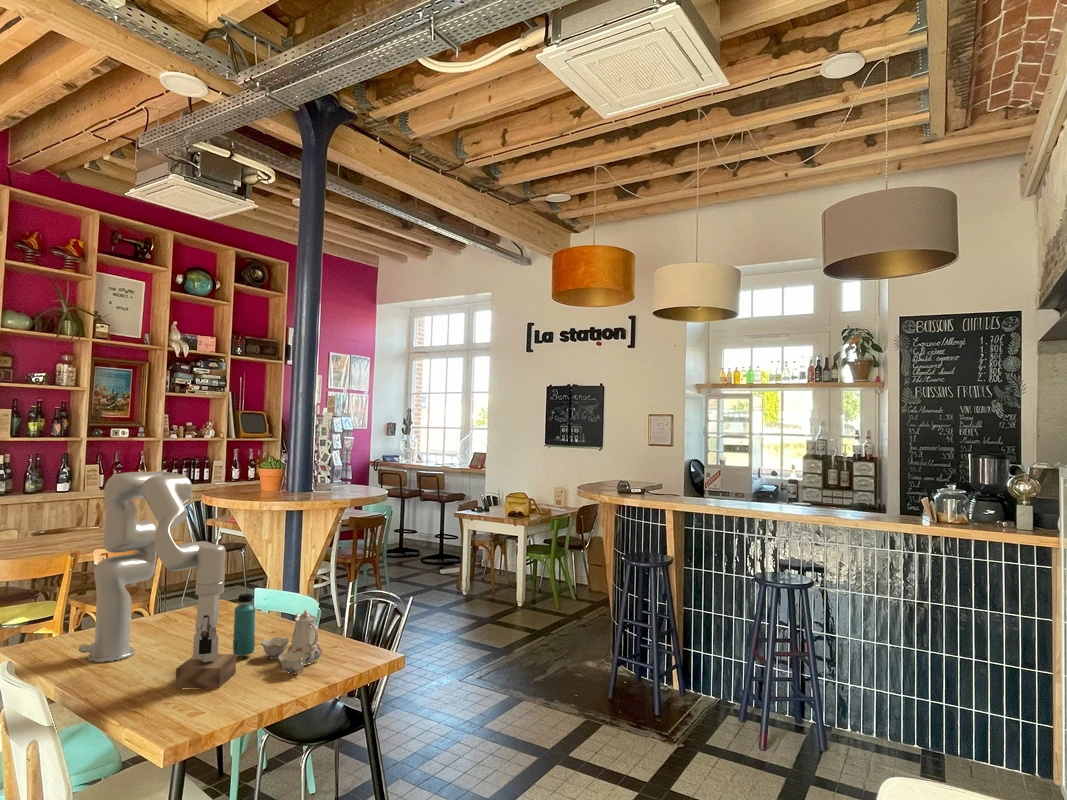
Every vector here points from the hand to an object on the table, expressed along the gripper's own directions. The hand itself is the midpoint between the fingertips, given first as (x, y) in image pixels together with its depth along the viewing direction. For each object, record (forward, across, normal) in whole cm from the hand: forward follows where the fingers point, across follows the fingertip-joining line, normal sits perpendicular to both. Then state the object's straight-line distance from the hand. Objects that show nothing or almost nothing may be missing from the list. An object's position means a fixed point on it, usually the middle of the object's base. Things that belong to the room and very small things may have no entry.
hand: (207, 648), depth 192 cm
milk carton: (+3, 0, 0) cm, 3 cm away
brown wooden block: (+9, 0, 0) cm, 9 cm away
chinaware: (+9, -9, +24) cm, 27 cm away
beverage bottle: (+9, -19, +8) cm, 23 cm away
